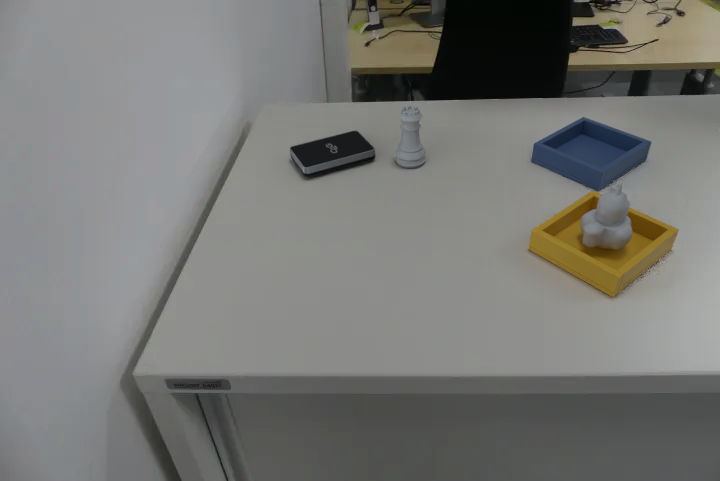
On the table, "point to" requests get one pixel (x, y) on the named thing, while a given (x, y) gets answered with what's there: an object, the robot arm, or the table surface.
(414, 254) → the table surface
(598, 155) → the blue tray
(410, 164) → the rook chess piece
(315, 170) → the external hard drive
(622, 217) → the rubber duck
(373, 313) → the table surface
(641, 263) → the yellow tray
